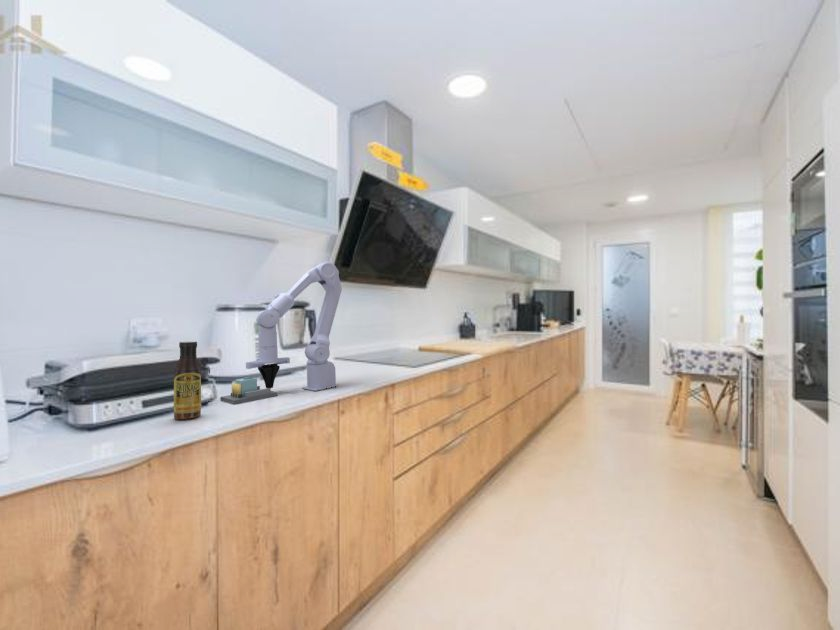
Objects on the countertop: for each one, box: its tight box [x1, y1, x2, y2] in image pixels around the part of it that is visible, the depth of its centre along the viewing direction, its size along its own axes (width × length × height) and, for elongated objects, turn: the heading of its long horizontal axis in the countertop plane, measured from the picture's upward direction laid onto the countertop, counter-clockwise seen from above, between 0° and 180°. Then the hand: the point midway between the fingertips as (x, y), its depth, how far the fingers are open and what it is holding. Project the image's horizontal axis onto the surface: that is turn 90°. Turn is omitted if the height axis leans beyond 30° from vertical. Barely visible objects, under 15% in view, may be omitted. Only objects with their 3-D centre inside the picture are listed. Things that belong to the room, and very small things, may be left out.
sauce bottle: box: [173, 340, 202, 421], centre depth 104 cm, size 6×6×20 cm
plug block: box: [234, 376, 258, 397], centre depth 125 cm, size 5×4×6 cm
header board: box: [219, 382, 279, 406], centre depth 126 cm, size 14×9×5 cm, turn 141°
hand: (269, 387), depth 131 cm, fingers closed
